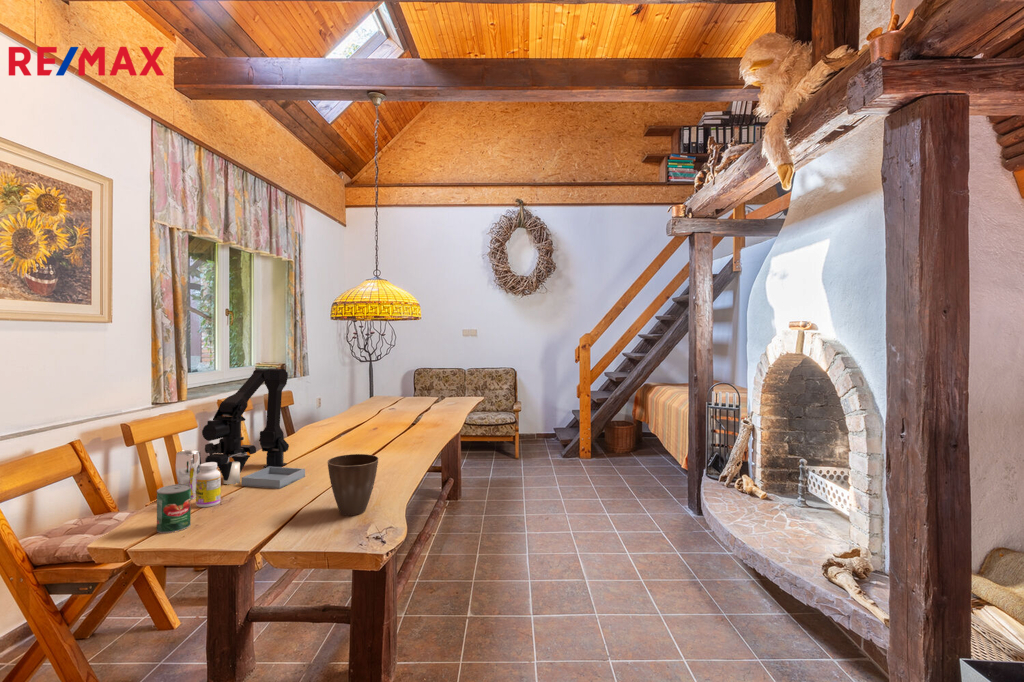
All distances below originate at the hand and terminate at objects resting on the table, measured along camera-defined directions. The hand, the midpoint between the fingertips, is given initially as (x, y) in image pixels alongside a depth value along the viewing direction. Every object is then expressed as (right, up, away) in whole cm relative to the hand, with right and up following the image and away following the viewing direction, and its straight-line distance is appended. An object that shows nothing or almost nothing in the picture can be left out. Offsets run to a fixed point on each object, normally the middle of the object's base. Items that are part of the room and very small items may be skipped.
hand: (231, 478), depth 178 cm
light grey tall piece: (-5, -2, -16) cm, 17 cm away
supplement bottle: (+5, -2, -22) cm, 23 cm away
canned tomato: (+7, -3, -41) cm, 41 cm away
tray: (+14, -2, +3) cm, 14 cm away
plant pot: (+52, -3, -26) cm, 59 cm away
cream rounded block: (0, -2, 0) cm, 2 cm away
